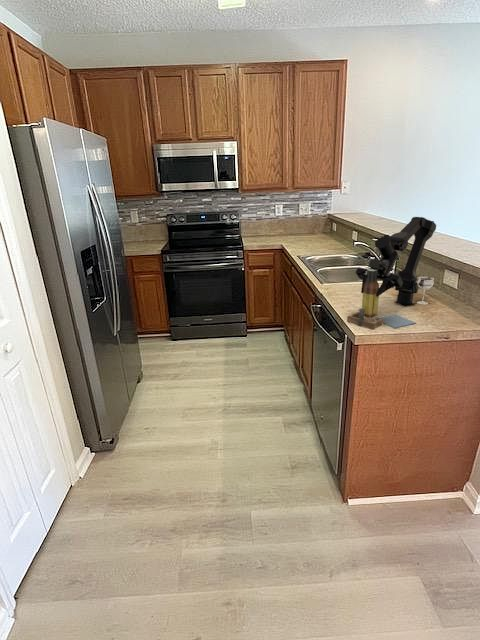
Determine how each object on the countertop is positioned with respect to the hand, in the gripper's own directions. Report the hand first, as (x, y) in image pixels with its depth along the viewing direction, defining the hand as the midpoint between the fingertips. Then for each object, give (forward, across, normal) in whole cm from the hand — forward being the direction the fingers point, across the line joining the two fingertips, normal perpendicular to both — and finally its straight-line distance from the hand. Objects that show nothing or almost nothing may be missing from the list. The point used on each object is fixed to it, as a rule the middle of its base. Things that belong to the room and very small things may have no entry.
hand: (369, 294), depth 149 cm
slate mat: (+2, +8, +15) cm, 17 cm away
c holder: (+10, 0, +7) cm, 12 cm away
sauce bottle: (+6, 0, +8) cm, 10 cm away
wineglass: (-19, +5, +37) cm, 42 cm away
